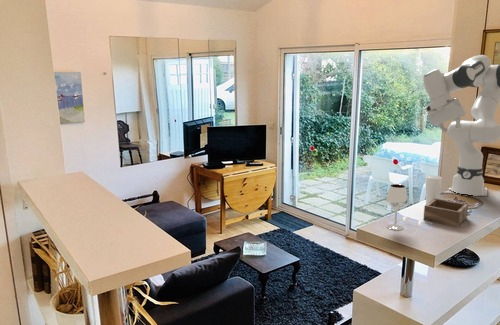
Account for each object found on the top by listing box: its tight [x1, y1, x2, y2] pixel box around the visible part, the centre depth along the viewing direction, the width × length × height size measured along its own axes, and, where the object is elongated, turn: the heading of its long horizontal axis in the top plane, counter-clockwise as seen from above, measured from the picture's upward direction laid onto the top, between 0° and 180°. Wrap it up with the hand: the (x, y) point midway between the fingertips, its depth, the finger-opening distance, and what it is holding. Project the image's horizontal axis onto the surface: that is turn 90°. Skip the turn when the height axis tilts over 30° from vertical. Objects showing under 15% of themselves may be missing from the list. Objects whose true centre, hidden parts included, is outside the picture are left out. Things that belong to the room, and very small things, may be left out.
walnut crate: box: [422, 198, 469, 228], centre depth 173 cm, size 14×14×6 cm
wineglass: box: [385, 183, 409, 231], centre depth 162 cm, size 8×8×18 cm
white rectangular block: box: [425, 175, 443, 205], centre depth 189 cm, size 7×7×15 cm
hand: (451, 130), depth 186 cm, fingers open, 8 cm apart
